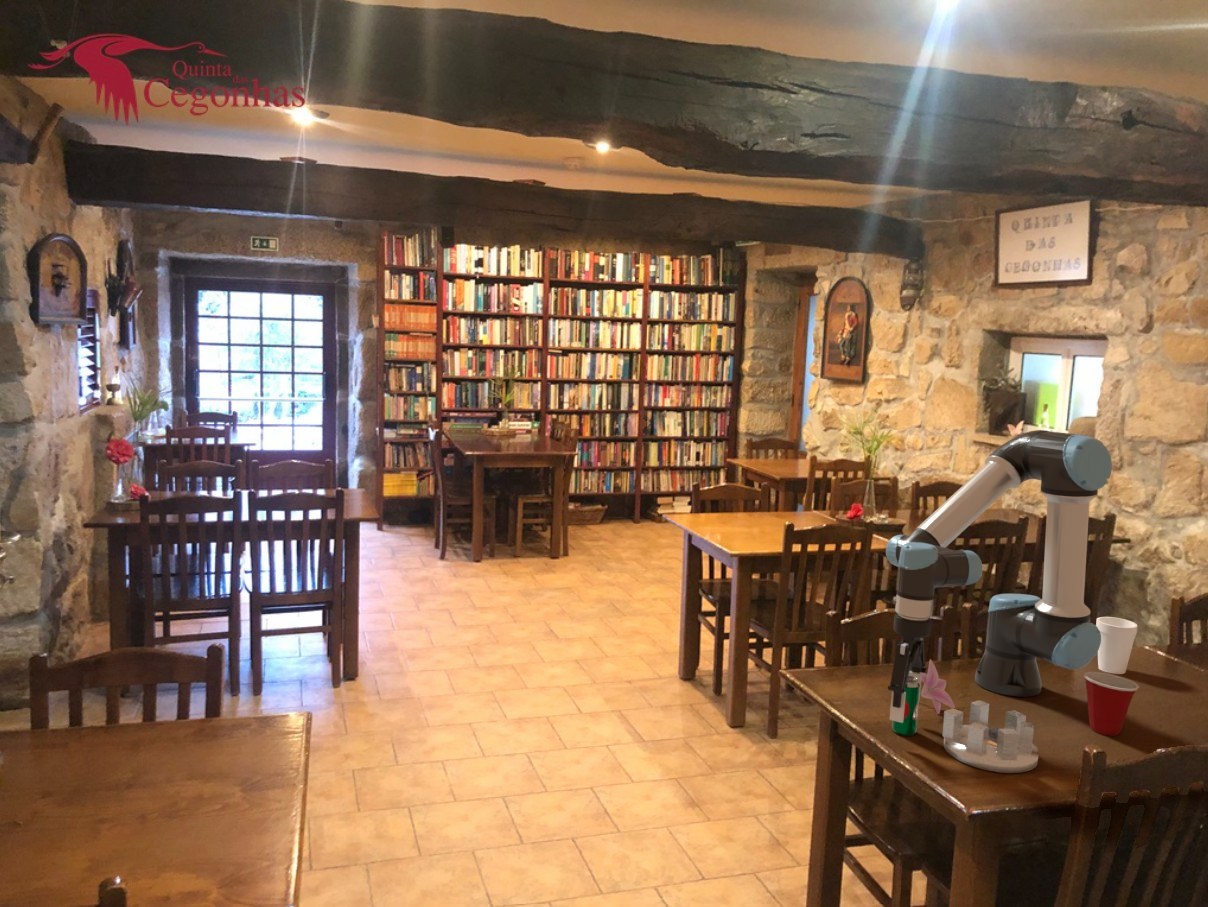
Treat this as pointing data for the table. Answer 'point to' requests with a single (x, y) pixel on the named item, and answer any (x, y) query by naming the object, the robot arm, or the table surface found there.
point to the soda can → (909, 709)
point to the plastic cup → (1108, 701)
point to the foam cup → (1115, 643)
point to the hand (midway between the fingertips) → (904, 710)
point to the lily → (935, 688)
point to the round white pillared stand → (990, 740)
